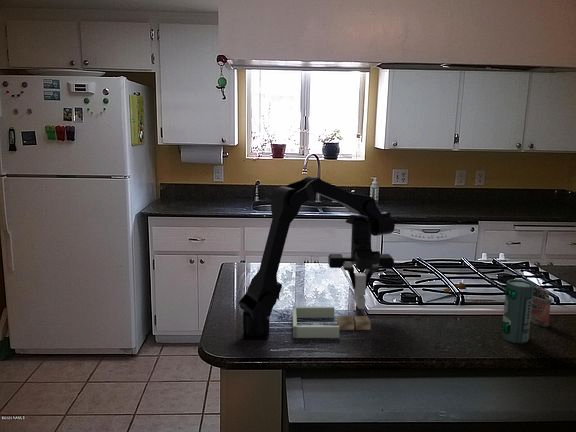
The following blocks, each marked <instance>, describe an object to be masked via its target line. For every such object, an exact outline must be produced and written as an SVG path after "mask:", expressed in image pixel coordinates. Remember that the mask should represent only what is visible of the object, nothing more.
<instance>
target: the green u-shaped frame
mask: <svg viewBox="0 0 576 432" xmlns="http://www.w3.org/2000/svg"><path fill="white" fill-rule="evenodd" d="M299 318H300V319H303V318H304V319H305V318H306V319H308V318H309V319H310V318H311V319H313V318H314V319H316V318H317V319H319V318H320V319H321V318H322V319H324V318H325V319H328V318H329V319H332V318H333V319H335V306H292V338H293V339H339V338H340V330H339V326H338V325H298V321H297V320H298V319H299Z"/></svg>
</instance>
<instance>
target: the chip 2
mask: <svg viewBox="0 0 576 432" xmlns="http://www.w3.org/2000/svg"><path fill="white" fill-rule="evenodd" d="M352 318H353V320H354V330H355V331H365V330H368V331H370V330H371V323H372V321H371V320H370V318H369V316H368V315H354V316H352Z"/></svg>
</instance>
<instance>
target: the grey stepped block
mask: <svg viewBox="0 0 576 432" xmlns="http://www.w3.org/2000/svg"><path fill="white" fill-rule="evenodd" d="M354 276H355V289H354V288H353V299H354V301H355V305H356V307H357V310H365V309H366V297H365V296H366V290H367V288H366V275H365V272H354Z"/></svg>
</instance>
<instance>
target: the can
mask: <svg viewBox="0 0 576 432" xmlns="http://www.w3.org/2000/svg"><path fill="white" fill-rule="evenodd" d="M534 286H535V284H534V283H533V282H530V281H528V280H524V279H523V280H522V279H512V278H511V279H508V280H507V281H506V283H505V291H504V293H505V294H504V305H503V313H502V327H501V338H503V339H504V340H506V341H507V342H510V343H514V344H516V343H517V344H524V343H527V342H528V341H529V337H530V330H531V329H530V328H531V322H530V320H531V311H532V302H533V292H534Z"/></svg>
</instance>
